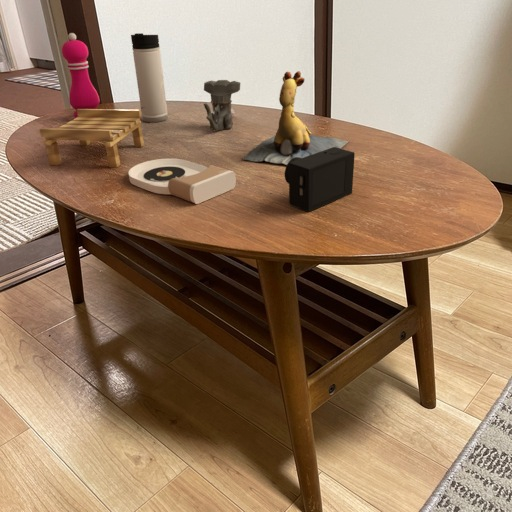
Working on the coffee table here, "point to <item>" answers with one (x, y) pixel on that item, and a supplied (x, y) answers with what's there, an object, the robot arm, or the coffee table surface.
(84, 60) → the pepper mill
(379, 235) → the coffee table surface
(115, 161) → the rack
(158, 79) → the travel mug
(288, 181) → the digital camera
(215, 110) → the grey flared upright piece
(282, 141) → the stuffed giraffe
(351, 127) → the coffee table surface
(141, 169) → the record player
